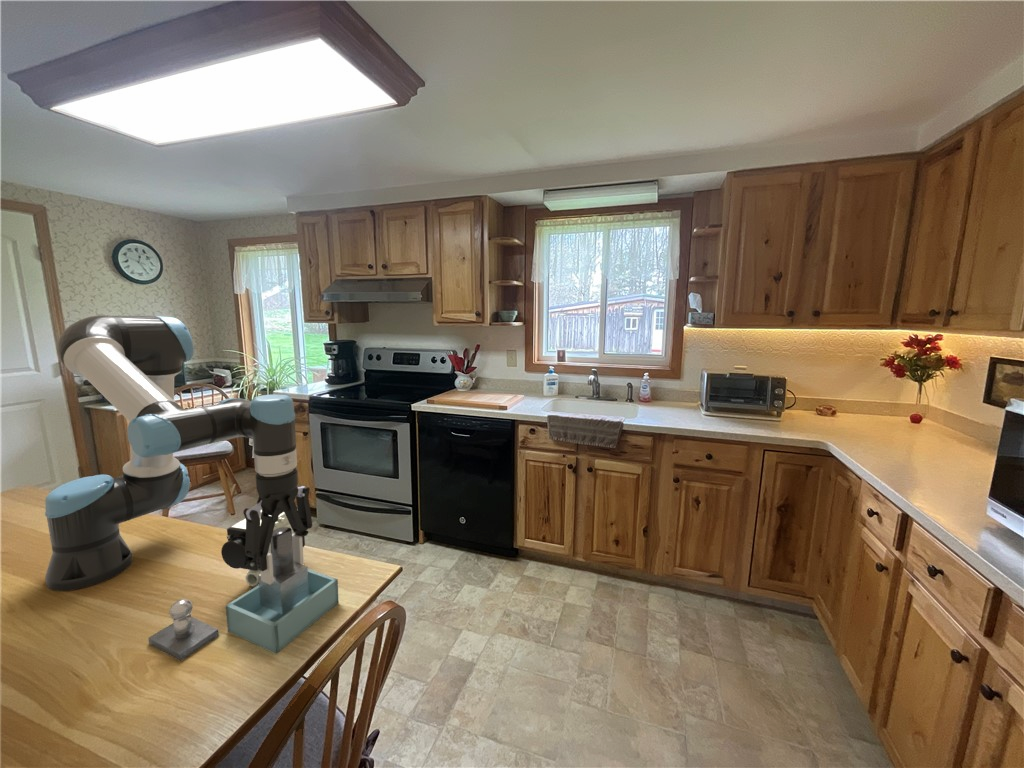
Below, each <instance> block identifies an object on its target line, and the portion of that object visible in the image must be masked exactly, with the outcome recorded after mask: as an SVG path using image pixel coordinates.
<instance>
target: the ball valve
mask: <svg viewBox="0 0 1024 768" xmlns="http://www.w3.org/2000/svg"><path fill="white" fill-rule="evenodd" d="M297 512H298V509H297ZM260 514H262V510H261V511H260ZM269 516H271V515H269ZM261 521H262V520H261V516H260V525H261ZM281 527H289V528H291V530H292V527H291V525H290V523H289V521H288V519H287V517H286V515H285V513H284V512H283V513H281V514H280V515H279V516H278V520H277V521H276V522H275V525H274V529H273V530H275V529H277V528H281ZM226 532H227V534H226V539H227V541H225V542H224V543H223V545H222V547H221V552H220V553H221V557H222V559H223V561H224V563H225V564H226V565H227V566H229V567H230V568H232V569H244V570H247V571H248V570H249V571H248V572H247V573H246V575H245V580H246V582H247V584H248V585H249V586H251V587H256V586H258V585H259V580H258V575H259V574H261V571H260V570H258V569H257V562H256V559H255V558H252V557H249V556H246V555H245V544H246V519H245V518H244V519H242V520H240V521H238V522H236V523H235V524H233V525H232V526H230V527H228V528H227V529H226ZM292 534H295V533H294V532H293V530H292ZM268 552H269V553H271V543H270V546H269V550H268Z"/></svg>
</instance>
